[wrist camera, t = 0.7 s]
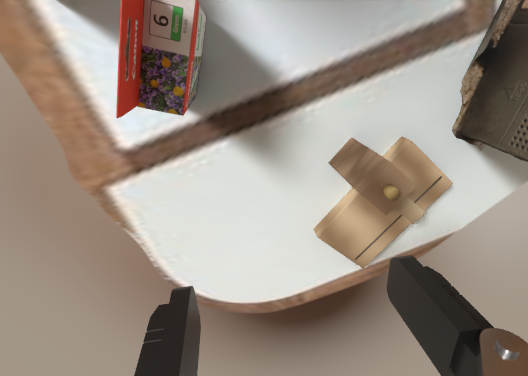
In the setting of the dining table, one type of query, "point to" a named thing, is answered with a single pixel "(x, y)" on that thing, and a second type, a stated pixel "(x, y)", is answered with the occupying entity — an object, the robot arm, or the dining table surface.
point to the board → (372, 219)
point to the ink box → (159, 54)
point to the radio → (498, 85)
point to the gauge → (376, 180)
